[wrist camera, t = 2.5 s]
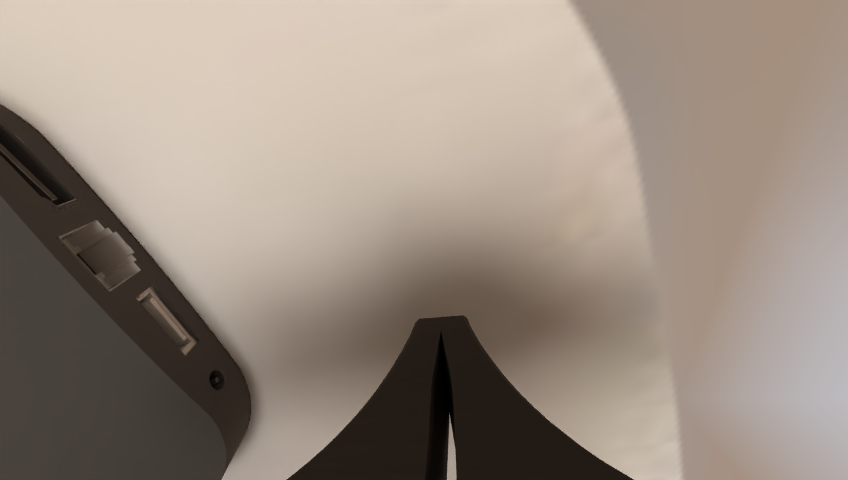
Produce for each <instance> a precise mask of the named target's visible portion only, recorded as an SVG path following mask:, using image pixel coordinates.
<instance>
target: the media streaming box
mask: <svg viewBox="0 0 848 480" xmlns="http://www.w3.org/2000/svg"><path fill="white" fill-rule="evenodd" d="M159 291H160V292H159ZM164 297H165V298H164ZM169 303H170V304H171V305H170V304H169ZM174 309H175V310H176V311H175V310H174ZM178 314H179V315H180V316H181V317H180V316H179V315H178ZM183 320H184V321H185V322H184V321H183ZM188 326H189V327H190V328H189V327H188ZM193 332H194V333H193ZM250 413H251V403H250V395H249V391H248V387H247V384H246V382H245V379H244V377H243V375H242V373H241V371H240V369H239V368H238V366H237V365H236V364H235V362H234V361H233V360H232V358H231V357H230V356H229V354H228V353H227V352H226V350H225V349H224V348H223V346H222V345H221V344H220V343H219V341H218V340H217V339H216V337H215V336H214V335H213V334H212V332H211V331H210V330H209V328H208V327H207V326H206V325H205V323H204V322H203V321H202V320H201V318H200V317H199V316H198V315H197V313H196V312H195V311H194V310H193V308H192V307H191V306H190V305H189V303H188V302H187V301H186V300H185V298H184V297H183V296H182V295H181V294H180V292H179V291H178V290H177V289H176V287H175V286H174V285H173V284H172V283H171V281H170V280H169V279H168V278H167V277H166V275H165V274H164V273H163V272H162V271H161V269H160V268H159V267H158V266H157V265H156V263H155V262H154V261H153V260H152V259H151V258H150V256H149V255H148V254H147V253H146V252H145V251H144V249H143V248H142V247H141V246H140V245H139V243H138V242H137V241H136V240H135V239H134V238H133V237H132V235H131V234H130V233H129V232H128V231H127V230H126V229H125V227H124V226H123V225H122V224H121V223H120V222H119V221H118V219H117V218H116V217H115V216H114V215H113V214H112V213H111V211H110V210H109V209H108V208H107V207H106V206H105V205H104V204H103V202H102V201H101V200H100V199H99V198H98V197H97V196H96V195H95V194H94V192H93V191H92V190H91V189H90V188H89V187H88V186H87V185H86V184H85V182H84V181H83V180H82V179H81V178H80V177H79V176H78V175H77V174H76V173H75V172H74V170H73V169H72V168H71V167H70V166H69V165H68V164H67V163H66V162H65V161H64V160H63V158H62V157H61V156H60V155H59V154H58V153H57V152H56V151H55V150H54V149H53V148H52V147H51V146H50V145H49V143H48V142H47V141H46V140H45V139H44V138H43V137H42V136H41V135H40V134H39V133H38V132H37V131H36V130H34V129H33V128H32V127H31V126H29V125H28V124H27V123H26V122H24V121H23V120H21V119H20V118H19V117H17V116H16V115H14V114H13V113H11V112H10V111H8V110H7V109H5V108H3V107H2V106H0V480H221V479H222V477H223V475H224V473H225V471H226V469H227V467H228V465H229V464H230V462H231V460H232V458H233V456H234V454H235V452H236V450H237V448H238V446H239V444H240V442H241V440H242V438H243V436H244V434H245V432H246V430H247V427H248V424H249V420H250Z"/></svg>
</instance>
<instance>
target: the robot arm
mask: <svg viewBox="0 0 848 480" xmlns="http://www.w3.org/2000/svg"><path fill="white" fill-rule="evenodd" d="M449 412H450V418H451V424H452V430H453V437H454V443H455V449H456V471H457V480H633V479H632V478H630V477H628V476H627V475H625V474H623V473H622V472H620V471H618V470H617V469H615V468H613V467H612V466H610V465H608V464H607V463H605V462H603V461H602V460H600V459H599V458H597V457H596V456H594V455H593V454H592V453H590V452H589V451H587V450H586V449H584V448H583V447H581V446H580V445H579V444H577V443H576V442H575V441H574V440H572V439H571V438H570V437H569V436H567V435H566V434H565V433H563V432H562V431H561V430H560V429H558V428H557V427H556V426H555V425H553V424H552V423H551V422H550V421H549V420H547V419H546V418H545V417H544V416H543V415H542V414H541V413H540V412H539V411H537V410H536V409H535V408H534V407H533V406H532V405H531V404H530V403H529V402H528V401H527V400H526V399H525V398H524V397H523V396H522V395H521V394H520V393H519V392H518V391H517V390H516V389H515V388H514V386H513V385H512V384H511V383H510V382H509V381H508V380H507V378H506V377H505V376H504V375H503V374H502V372H501V371H500V370H499V369H498V367H497V366H496V365H495V364H494V362H493V361H492V360H491V358H490V357H489V355H488V354H487V353H486V351H485V350H484V348H483V347H482V345H481V344H480V342H479V341H478V339H477V337H476V336H475V334H474V332H473V330H472V328H471V326H470V324H469V321H468V319H467V318H466V317H465V316H451V317H438V318H426V319H419V320H418V321H417V322H416V323H415V325H414V328H413V330H412V332H411V334H410V337H409V339H408V341H407V342H406V344H405V346H404V348H403V350H402V352H401V353H400V355H399V357H398V358H397V360H396V362H395V363H394V365H393V367H392V368H391V370H390V371H389V373H388V374H387V376H386V377H385V379H384V380H383V382H382V383H381V384H380V386H379V387H378V389H377V390H376V392H375V393H374V394H373V395H372V397H371V398H370V399H369V401H368V402H367V403H366V404H365V406H364V407H363V408H362V409H361V410H360V411H359V413H358V414H357V415H356V416H355V417H354V418H353V419H352V421H351V422H350V423H349V424H348V425H347V426H346V427H345V428H344V429H343V430H342V431H341V432H340V433H339V434H338V435H337V436H336V437H335V438H334V439H333V440H332V441H331V442H330V443H329V444H328V445H327V446H326V447H325V448H324V449H323V450H322V451H321V452H319V453H318V454H317V455H316V456H315V457H314V458H313V459H311V460H310V461H309V462H308V463H307V464H306V465H304V466H303V467H302V468H301V469H299V470H298V471H297V472H296V473H295V474H293V475H292V476H291V477H289V478H288V479H287V480H447V460H448V437H449Z"/></svg>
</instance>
